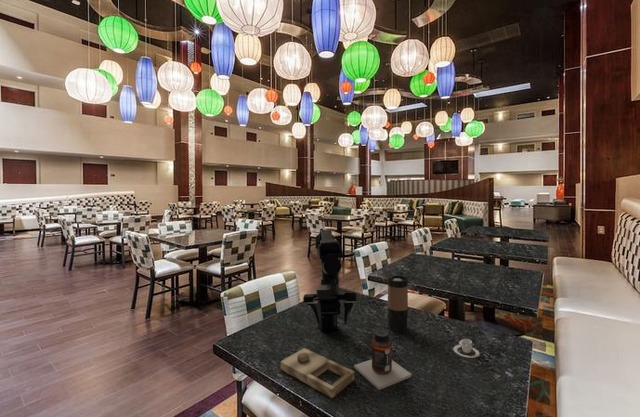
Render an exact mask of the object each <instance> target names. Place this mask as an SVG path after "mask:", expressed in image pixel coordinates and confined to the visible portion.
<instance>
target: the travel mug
mask: <svg viewBox="0 0 640 417" xmlns="http://www.w3.org/2000/svg"><path fill="white" fill-rule="evenodd" d="M408 282H409V281H408V278H407V277H406V276H401V275H393V276H392V277H387V324H388V330H389V331H391V332H393V333H398V334H399V333H405V332H406V331H407V330H408V317H409V316H408V315H409V313H408V311H409V310H408V309H409V306H408V305H409V302H408V299H409V298H408V297H409V296H408V294H409V289H408V286H409V283H408Z"/></svg>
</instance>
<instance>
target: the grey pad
mask: <svg viewBox="0 0 640 417" xmlns="http://www.w3.org/2000/svg"><path fill="white" fill-rule="evenodd" d="M354 369H355V370H356V371H357V372H359V374H361V375H362V376H363V377H364V378H365V379H366V380H367V381H368V382H370V384H371V385H373V386H374V387H375V388H376V389H377V390H378V391H381V390H382V389H385V388H388V387H390V386H392V385H395V384H398V383H400V382H402V381H404V380H408V379H409V378H412V373H410V372H409V371H407V369H405V368H404V367H402V366H401V365H400V364H398V363H397V362H395V361H394V360H393V359H392V370H391V372H390V373H387V374H379V373H376V372H375V371H374V370H373V369H372V358H371V359H369V360H366V361H364V362H363V361H362V362H360V363H357V364H354Z"/></svg>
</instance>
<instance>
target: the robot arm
mask: <svg viewBox="0 0 640 417" xmlns="http://www.w3.org/2000/svg"><path fill="white" fill-rule="evenodd" d="M314 243H315V244H314V248H315V250H316V254H317V256H318V258H319V260H320V267H321V279H320V280H321V281H320V285H319V286H318V287H317V288H316V293H305V294H304V295H303V297H302V303H306V305H307V306H309V307H310V308H311V309H312V311H313V313H314V316H315V319H316V322H317V328H318V329H320V330H321V331H323V333H326V334H328V333H331V332H334V331H337V330H338V331H339V330H340V327H339V326H338V316H340V314H341V308H342V302H340V301H345V302H343V307H344V313H343V315H344V316H343V321H344V325H345V326H347V324H348V321H349V318H350V315H351V311H352V309H353V306H354V305H356V304H357V302H360V301H361V297H360V293H359V292H344V294H341V291H340V283H341V282H340V281H341V280H340V279H339V277H340V276H339V275H340V274H339V273H340V271H341V269H342V262H341V260H342V257H343V256H344V253H343V252H344V251H343V248H342V246H341V243H339V242H338V240H337V239H336V238H335V235H334V234H333V231H332V230H331V229H325V230H324V229H321V230H319V233H318V234H317V235H316V236H315V238H314ZM340 259H341V260H340Z"/></svg>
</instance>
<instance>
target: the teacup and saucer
mask: <svg viewBox="0 0 640 417" xmlns="http://www.w3.org/2000/svg"><path fill="white" fill-rule="evenodd" d="M472 345H473V341H472V340H471V339H469V338H462V339H461V340H459V342H458V344H457V345H455V346H453V352H454V353H455V354H457V355H458V356H461V357H463V358H469V359H474V358H477V357H479V356H480V351H479V350H477V348H474V347H473V346H472ZM459 348H461V349H462V352H463V353H465V354H470V353H471V352H472V351H474V353H475V354H474V355H465V354H462V353H461V352H459V351H458V349H459Z"/></svg>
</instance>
